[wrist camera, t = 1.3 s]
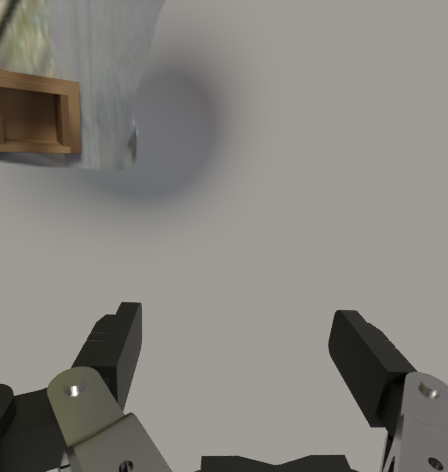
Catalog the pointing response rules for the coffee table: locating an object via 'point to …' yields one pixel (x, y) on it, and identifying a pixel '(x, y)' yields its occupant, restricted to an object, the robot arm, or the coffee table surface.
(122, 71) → the coffee table surface
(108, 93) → the coffee table surface
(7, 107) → the brown open box stand
